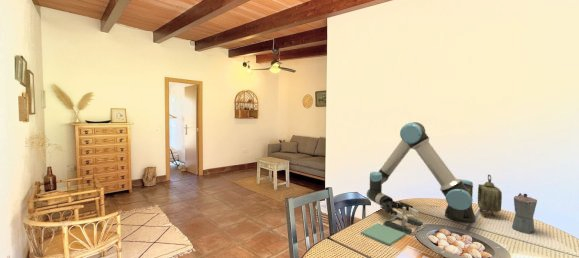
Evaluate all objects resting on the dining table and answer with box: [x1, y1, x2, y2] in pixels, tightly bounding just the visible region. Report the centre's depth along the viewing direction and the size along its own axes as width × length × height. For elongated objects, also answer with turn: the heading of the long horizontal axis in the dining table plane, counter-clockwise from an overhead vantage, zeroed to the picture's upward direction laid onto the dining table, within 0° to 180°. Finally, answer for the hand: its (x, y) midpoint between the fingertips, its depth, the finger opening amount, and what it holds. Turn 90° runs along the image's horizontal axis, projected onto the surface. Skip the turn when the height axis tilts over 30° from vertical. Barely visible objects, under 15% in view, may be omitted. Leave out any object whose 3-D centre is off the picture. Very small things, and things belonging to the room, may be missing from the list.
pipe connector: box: [393, 207, 415, 227], centre depth 143 cm, size 10×10×10 cm
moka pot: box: [511, 193, 538, 235], centre depth 138 cm, size 10×15×20 cm, turn 160°
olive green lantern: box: [477, 174, 503, 218], centre depth 157 cm, size 14×9×25 cm, turn 153°
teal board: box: [360, 223, 407, 247], centre depth 134 cm, size 16×16×1 cm
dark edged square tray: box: [382, 216, 424, 237], centre depth 144 cm, size 18×17×2 cm
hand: (409, 214), depth 139 cm, fingers closed on pipe connector, 9 cm apart
